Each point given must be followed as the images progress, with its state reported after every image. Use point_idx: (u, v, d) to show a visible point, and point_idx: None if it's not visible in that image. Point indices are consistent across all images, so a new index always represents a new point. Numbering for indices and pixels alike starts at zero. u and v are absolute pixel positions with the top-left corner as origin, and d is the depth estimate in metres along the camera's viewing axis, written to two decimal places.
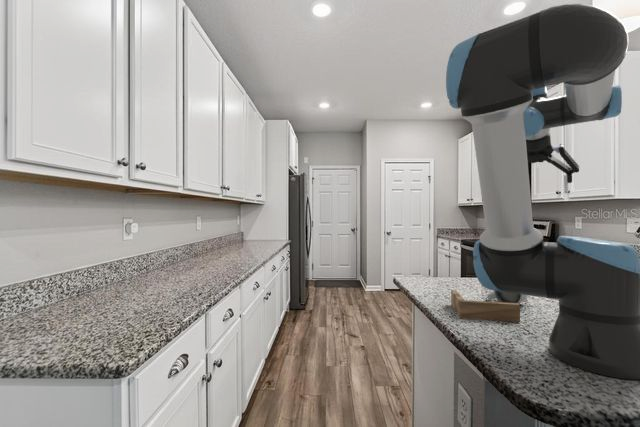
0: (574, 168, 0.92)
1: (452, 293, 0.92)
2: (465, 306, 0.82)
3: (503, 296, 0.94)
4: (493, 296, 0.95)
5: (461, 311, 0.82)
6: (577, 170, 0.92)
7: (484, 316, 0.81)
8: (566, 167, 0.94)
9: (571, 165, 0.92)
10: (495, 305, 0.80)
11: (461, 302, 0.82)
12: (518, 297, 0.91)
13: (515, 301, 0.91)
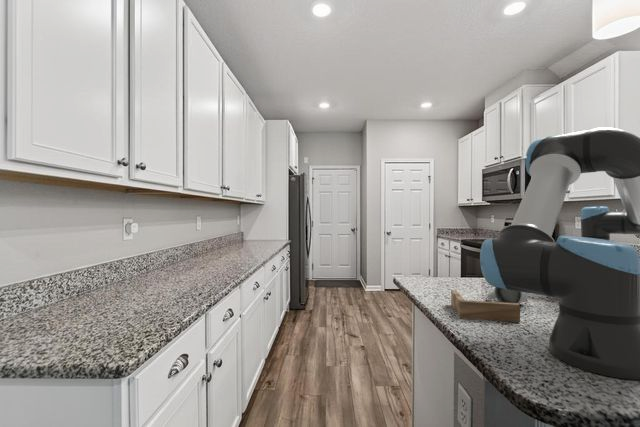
0: None
1: (452, 293, 0.92)
2: (465, 306, 0.82)
3: (503, 296, 0.94)
4: (493, 296, 0.95)
5: (461, 311, 0.82)
6: None
7: (484, 316, 0.81)
8: None
9: None
10: (495, 305, 0.80)
11: (461, 302, 0.82)
12: (518, 297, 0.91)
13: (515, 301, 0.91)
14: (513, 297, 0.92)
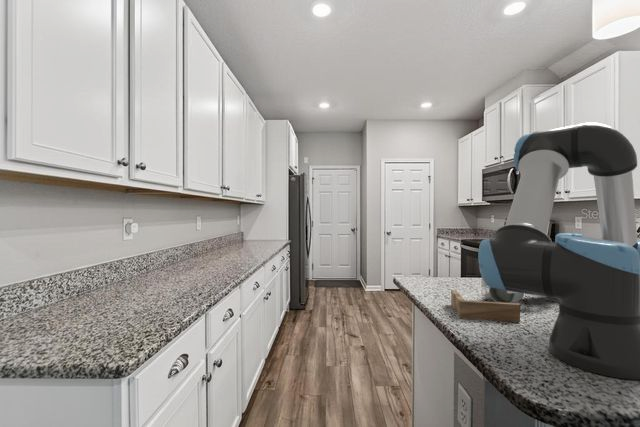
0: None
1: (452, 293, 0.92)
2: (465, 306, 0.82)
3: (498, 295, 0.95)
4: (489, 295, 0.97)
5: (461, 311, 0.82)
6: None
7: (484, 316, 0.81)
8: None
9: None
10: (495, 305, 0.80)
11: (461, 302, 0.82)
12: (512, 296, 0.92)
13: (510, 300, 0.92)
14: (507, 296, 0.93)
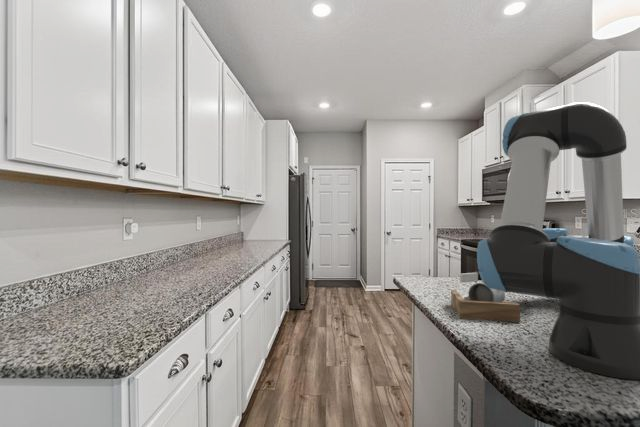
0: None
1: (452, 293, 0.92)
2: (465, 306, 0.82)
3: (478, 299, 0.91)
4: (468, 299, 0.92)
5: (461, 311, 0.82)
6: None
7: (484, 316, 0.81)
8: None
9: None
10: (495, 305, 0.80)
11: (461, 302, 0.82)
12: (492, 300, 0.88)
13: None
14: (487, 300, 0.88)
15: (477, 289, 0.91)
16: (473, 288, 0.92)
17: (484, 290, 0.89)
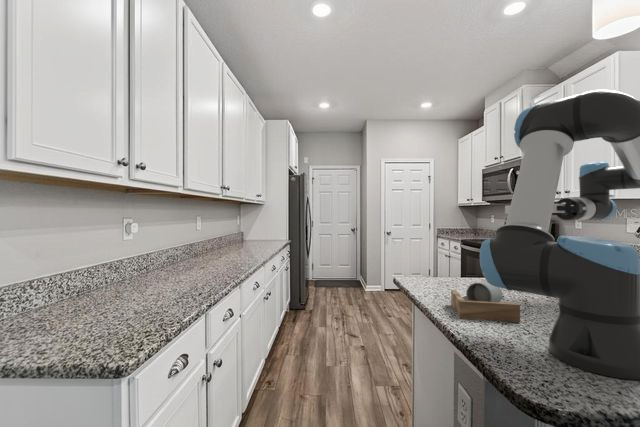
0: None
1: (452, 293, 0.92)
2: (465, 306, 0.82)
3: (476, 298, 0.91)
4: (466, 298, 0.93)
5: (461, 311, 0.82)
6: (577, 203, 0.87)
7: (484, 316, 0.81)
8: None
9: None
10: (495, 305, 0.80)
11: (461, 302, 0.82)
12: (490, 299, 0.88)
13: None
14: (485, 299, 0.89)
15: (475, 289, 0.92)
16: (471, 288, 0.93)
17: (482, 290, 0.89)
